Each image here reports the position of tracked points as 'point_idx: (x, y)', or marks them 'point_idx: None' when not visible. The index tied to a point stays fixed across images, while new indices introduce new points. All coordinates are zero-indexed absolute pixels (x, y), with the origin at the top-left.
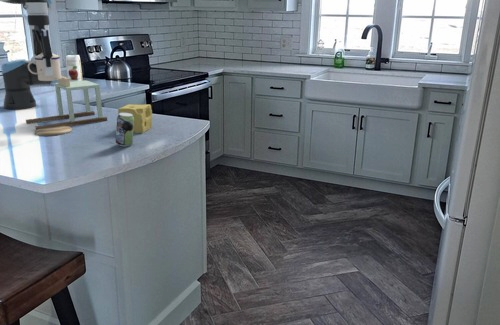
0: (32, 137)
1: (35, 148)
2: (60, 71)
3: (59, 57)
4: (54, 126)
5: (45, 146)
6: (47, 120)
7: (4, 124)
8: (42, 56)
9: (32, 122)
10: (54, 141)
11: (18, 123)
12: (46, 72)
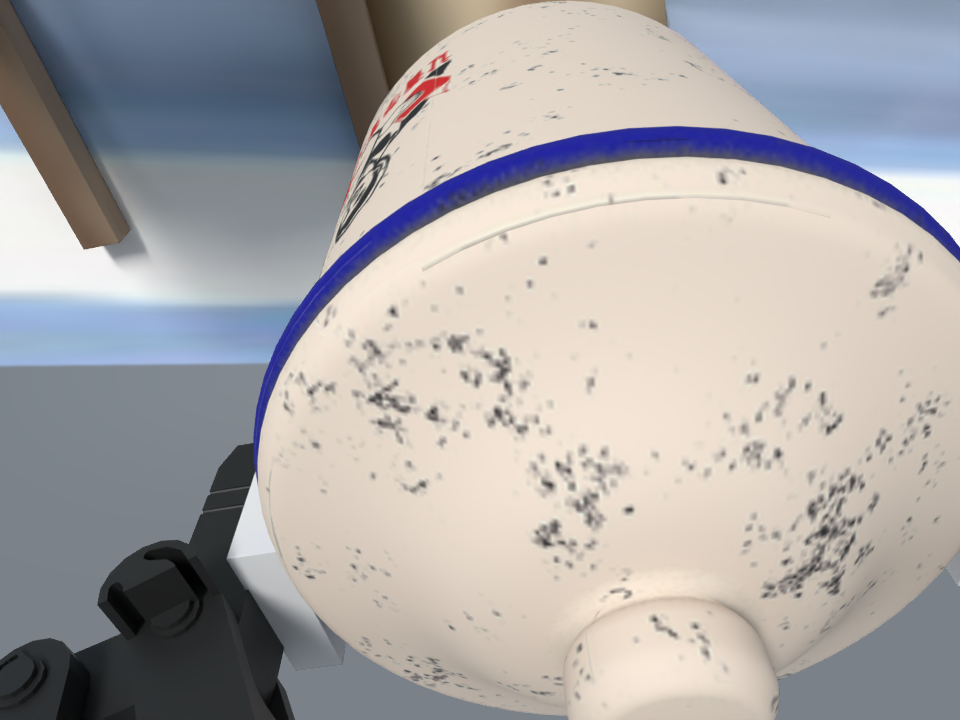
0: None
1: (936, 206)
2: (673, 45)
3: (787, 146)
4: (380, 33)
5: (939, 144)
6: (41, 70)
7: (111, 364)
8: (862, 630)
9: (108, 195)
10: (845, 72)
11: (95, 286)
12: None
